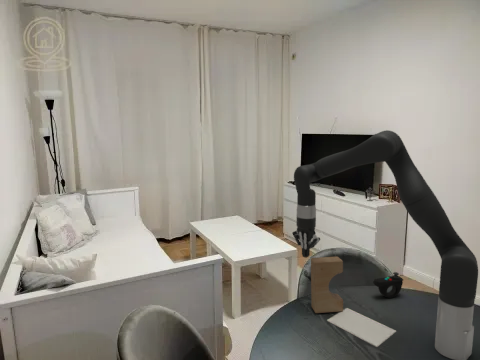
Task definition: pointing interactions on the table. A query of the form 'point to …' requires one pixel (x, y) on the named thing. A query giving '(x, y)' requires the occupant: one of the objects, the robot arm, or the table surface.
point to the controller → (387, 282)
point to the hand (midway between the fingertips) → (305, 256)
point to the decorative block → (325, 284)
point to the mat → (362, 327)
